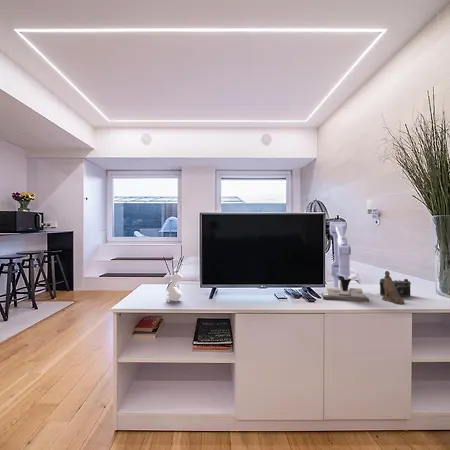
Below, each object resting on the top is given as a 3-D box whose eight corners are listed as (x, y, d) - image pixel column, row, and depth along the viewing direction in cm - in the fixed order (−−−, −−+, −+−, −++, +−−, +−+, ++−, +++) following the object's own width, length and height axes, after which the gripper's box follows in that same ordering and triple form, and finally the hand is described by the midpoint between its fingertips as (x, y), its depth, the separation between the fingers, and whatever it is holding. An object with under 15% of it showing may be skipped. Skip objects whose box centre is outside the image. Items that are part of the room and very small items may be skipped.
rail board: (321, 295, 178) (321, 285, 178) (364, 297, 173) (364, 287, 173) (323, 299, 168) (323, 289, 168) (369, 301, 163) (369, 291, 163)
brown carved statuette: (381, 303, 168) (376, 271, 172) (389, 303, 169) (384, 271, 173) (397, 304, 157) (391, 270, 160) (406, 304, 158) (400, 269, 162)
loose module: (338, 292, 174) (338, 280, 174) (346, 292, 173) (346, 280, 173) (339, 294, 169) (339, 281, 169) (348, 294, 168) (348, 282, 168)
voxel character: (159, 290, 171) (174, 269, 170) (175, 302, 171) (191, 281, 170) (156, 293, 163) (172, 271, 163) (173, 306, 163) (189, 284, 163)
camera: (384, 298, 170) (384, 280, 170) (377, 294, 180) (377, 277, 180) (417, 299, 169) (417, 281, 169) (408, 295, 178) (408, 278, 178)
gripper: (334, 264, 178) (334, 286, 179) (338, 267, 164) (338, 292, 164) (347, 264, 177) (347, 287, 177) (352, 268, 163) (352, 293, 163)
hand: (344, 289), depth 171 cm, fingers closed on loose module, 5 cm apart
